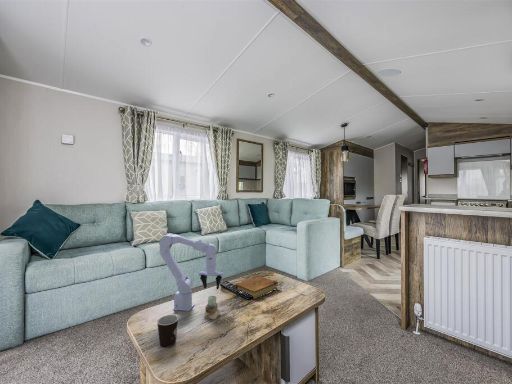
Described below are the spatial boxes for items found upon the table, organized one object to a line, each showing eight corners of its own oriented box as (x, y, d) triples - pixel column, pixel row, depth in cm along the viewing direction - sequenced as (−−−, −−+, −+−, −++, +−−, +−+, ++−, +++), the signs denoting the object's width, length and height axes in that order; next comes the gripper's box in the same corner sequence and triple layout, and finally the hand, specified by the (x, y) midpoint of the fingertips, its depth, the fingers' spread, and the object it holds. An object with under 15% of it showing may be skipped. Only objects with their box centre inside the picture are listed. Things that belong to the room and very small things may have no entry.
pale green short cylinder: (206, 306, 126) (206, 298, 126) (210, 302, 130) (210, 295, 130) (214, 307, 125) (214, 299, 125) (217, 303, 129) (217, 296, 129)
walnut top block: (205, 312, 125) (205, 306, 125) (208, 308, 130) (208, 302, 130) (214, 313, 124) (214, 307, 124) (217, 308, 129) (217, 303, 129)
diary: (258, 283, 176) (258, 275, 176) (278, 290, 163) (278, 281, 163) (235, 292, 160) (235, 283, 160) (254, 300, 146) (254, 291, 147)
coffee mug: (165, 351, 97) (165, 327, 97) (152, 345, 102) (152, 321, 102) (187, 337, 107) (187, 315, 107) (174, 332, 112) (175, 310, 112)
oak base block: (204, 318, 125) (204, 312, 125) (209, 313, 131) (209, 307, 131) (215, 319, 123) (215, 313, 124) (219, 314, 129) (219, 308, 129)
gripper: (196, 266, 136) (197, 290, 136) (220, 267, 133) (221, 291, 133) (201, 263, 143) (202, 285, 142) (224, 263, 140) (225, 286, 140)
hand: (211, 288), depth 138 cm, fingers open, 7 cm apart
